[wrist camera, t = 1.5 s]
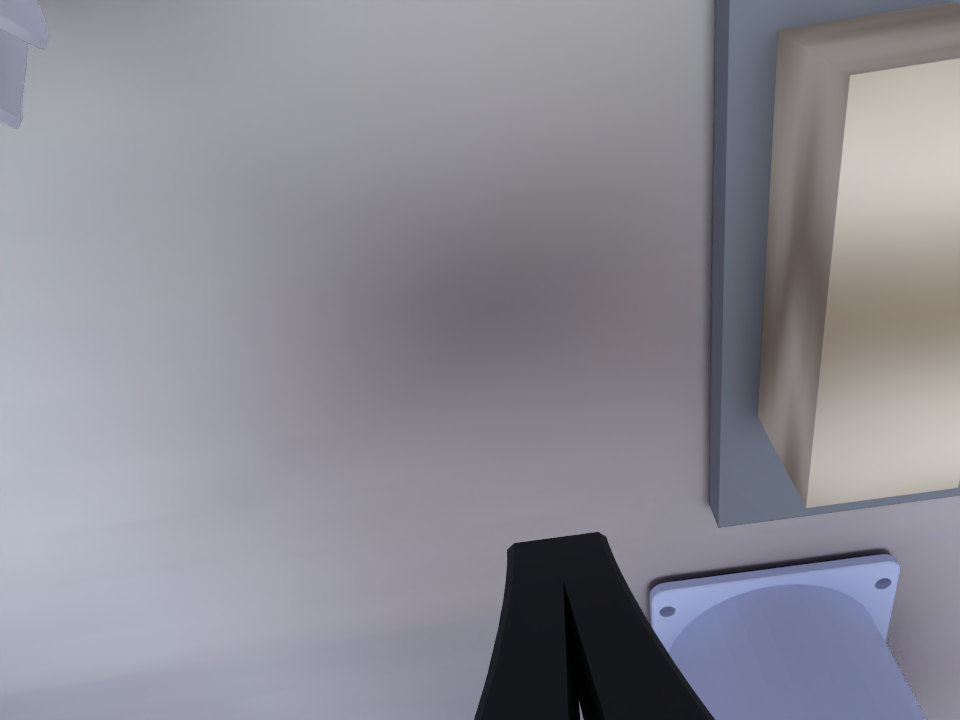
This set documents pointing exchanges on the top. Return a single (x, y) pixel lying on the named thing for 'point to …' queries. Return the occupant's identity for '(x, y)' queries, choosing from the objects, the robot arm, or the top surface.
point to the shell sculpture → (17, 53)
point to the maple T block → (865, 257)
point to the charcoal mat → (755, 255)
